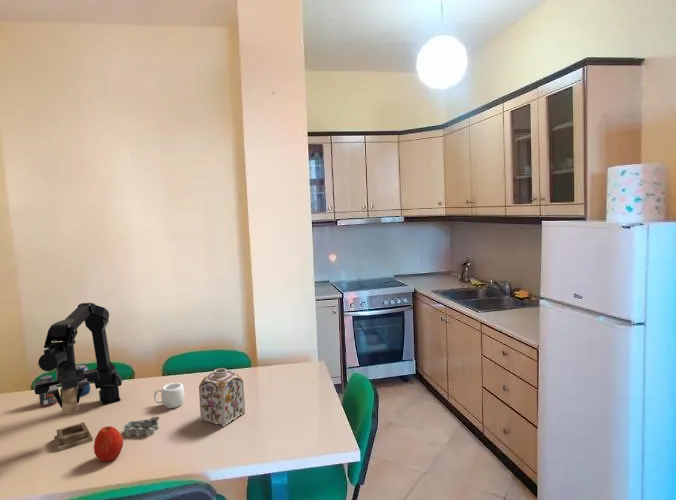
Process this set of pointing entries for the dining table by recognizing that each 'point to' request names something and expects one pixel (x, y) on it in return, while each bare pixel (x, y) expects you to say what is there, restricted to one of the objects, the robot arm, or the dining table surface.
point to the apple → (108, 444)
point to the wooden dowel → (69, 400)
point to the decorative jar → (221, 396)
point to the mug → (171, 395)
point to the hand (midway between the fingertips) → (69, 405)
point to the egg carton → (137, 426)
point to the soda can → (87, 387)
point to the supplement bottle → (45, 397)
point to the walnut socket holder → (72, 436)
